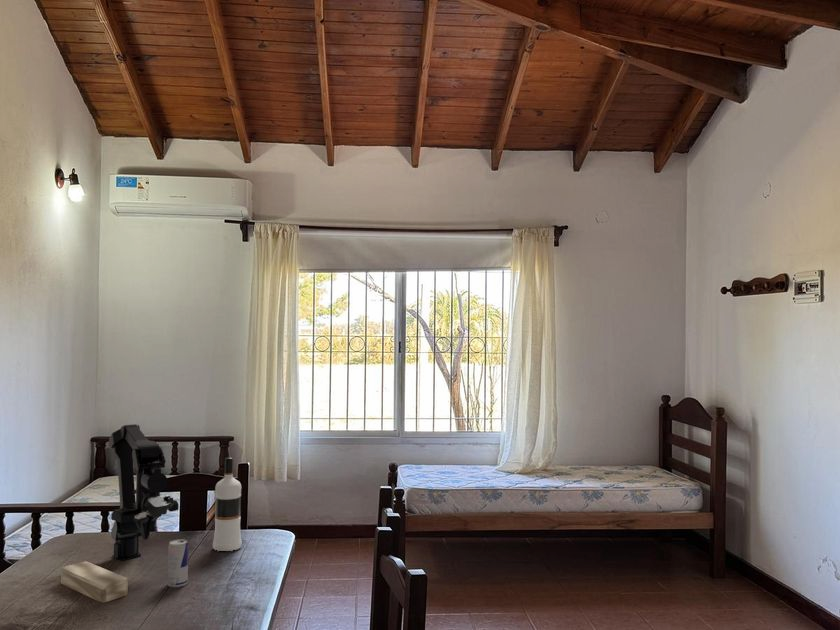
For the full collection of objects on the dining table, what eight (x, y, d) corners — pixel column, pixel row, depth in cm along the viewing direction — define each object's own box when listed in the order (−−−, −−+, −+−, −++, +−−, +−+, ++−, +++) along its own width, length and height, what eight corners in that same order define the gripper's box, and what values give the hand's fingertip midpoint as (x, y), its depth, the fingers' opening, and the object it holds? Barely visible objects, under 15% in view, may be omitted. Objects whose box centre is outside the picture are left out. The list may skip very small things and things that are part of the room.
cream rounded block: (85, 576, 199) (85, 561, 199) (127, 595, 186) (127, 578, 186) (60, 583, 193) (61, 567, 194) (102, 603, 180) (103, 585, 180)
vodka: (218, 554, 220) (220, 461, 220) (208, 547, 227) (210, 456, 228) (246, 549, 225) (247, 458, 226) (235, 542, 233) (236, 454, 233)
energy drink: (191, 582, 196) (192, 540, 196) (179, 588, 191) (180, 545, 191) (176, 579, 197) (176, 538, 198) (163, 586, 192) (164, 543, 193)
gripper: (132, 496, 190) (131, 552, 190) (190, 484, 205) (189, 536, 205) (110, 490, 197) (109, 545, 196) (168, 479, 212) (167, 530, 212)
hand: (145, 539), depth 202 cm, fingers closed
